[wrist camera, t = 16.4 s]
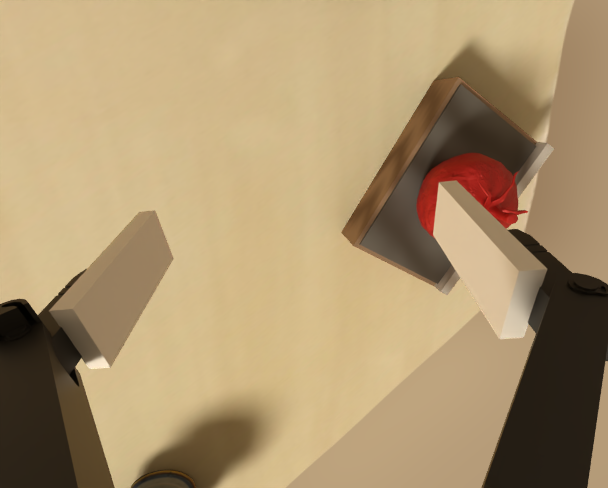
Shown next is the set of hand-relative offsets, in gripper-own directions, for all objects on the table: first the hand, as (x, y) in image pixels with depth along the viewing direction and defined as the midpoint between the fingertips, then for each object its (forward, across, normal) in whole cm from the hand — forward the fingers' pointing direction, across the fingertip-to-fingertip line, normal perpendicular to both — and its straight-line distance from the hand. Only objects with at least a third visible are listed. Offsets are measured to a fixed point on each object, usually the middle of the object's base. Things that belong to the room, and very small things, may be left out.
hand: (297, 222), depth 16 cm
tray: (+26, +15, -11) cm, 31 cm away
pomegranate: (+21, +15, -10) cm, 28 cm away
